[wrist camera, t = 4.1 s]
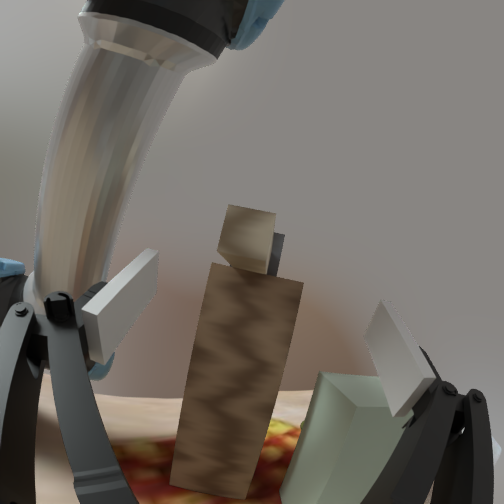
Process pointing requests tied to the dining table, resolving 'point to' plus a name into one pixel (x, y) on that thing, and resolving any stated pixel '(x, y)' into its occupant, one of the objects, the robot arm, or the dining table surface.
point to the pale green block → (342, 441)
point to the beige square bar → (251, 240)
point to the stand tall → (233, 379)
